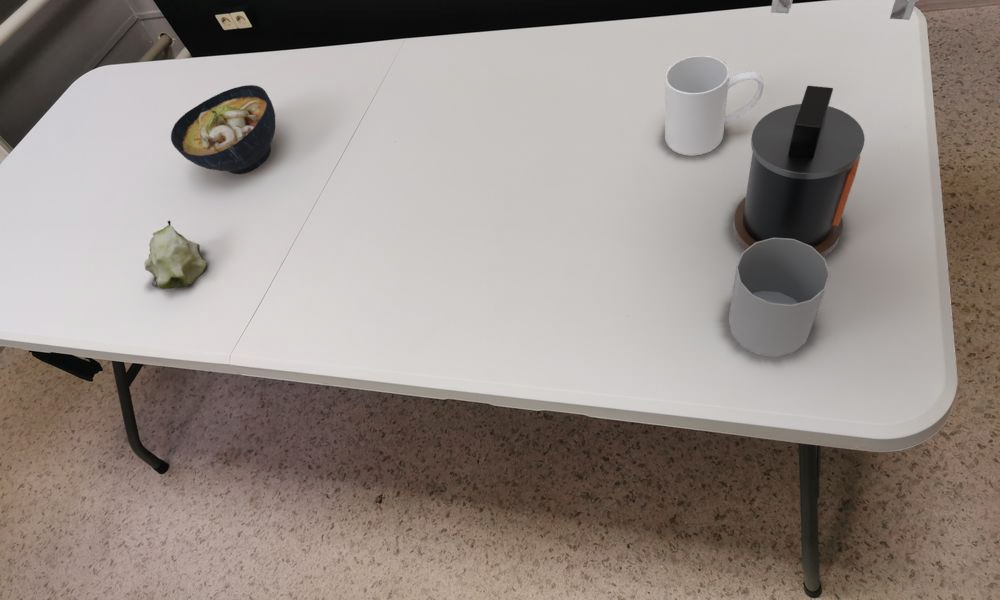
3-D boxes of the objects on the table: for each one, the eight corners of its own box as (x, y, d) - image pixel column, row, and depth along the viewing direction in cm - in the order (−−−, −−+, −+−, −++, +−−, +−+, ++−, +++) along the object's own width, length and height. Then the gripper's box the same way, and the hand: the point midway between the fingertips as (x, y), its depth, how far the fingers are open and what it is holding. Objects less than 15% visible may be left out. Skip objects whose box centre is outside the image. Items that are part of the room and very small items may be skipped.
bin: (845, 196, 74) (884, 77, 61) (827, 263, 69) (866, 150, 56) (752, 180, 78) (770, 67, 65) (730, 242, 74) (744, 134, 60)
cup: (810, 297, 69) (829, 241, 61) (810, 361, 65) (830, 309, 57) (731, 290, 72) (739, 235, 64) (725, 351, 68) (733, 300, 60)
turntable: (848, 201, 75) (851, 193, 74) (829, 277, 70) (832, 269, 69) (746, 185, 80) (748, 176, 79) (721, 254, 75) (722, 246, 74)
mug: (664, 158, 86) (664, 96, 78) (665, 120, 90) (665, 58, 82) (757, 153, 83) (768, 88, 74) (754, 114, 87) (763, 49, 79)
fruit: (182, 252, 99) (158, 213, 93) (226, 266, 96) (205, 226, 91) (139, 291, 94) (111, 252, 88) (185, 306, 91) (160, 267, 85)
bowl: (202, 146, 113) (167, 102, 105) (289, 112, 113) (261, 65, 105) (203, 206, 103) (165, 162, 95) (299, 169, 103) (268, 121, 95)
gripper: (717, -146, 46) (707, 25, 57) (1063, -163, 37) (972, 43, 48) (740, -183, 48) (726, -13, 59) (1066, -207, 40) (979, -3, 51)
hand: (838, 12), depth 54 cm, fingers open, 8 cm apart
